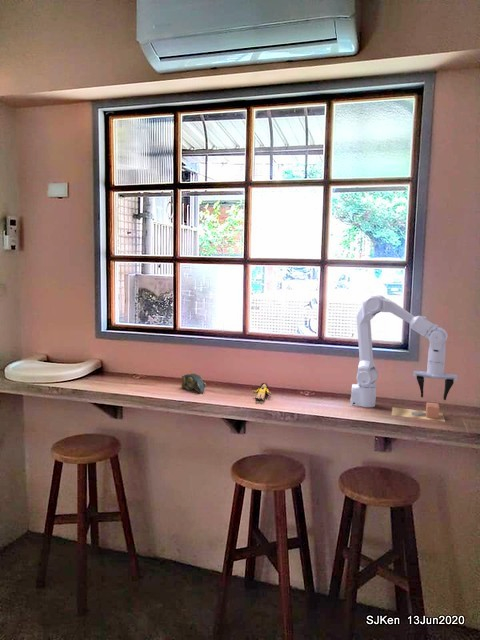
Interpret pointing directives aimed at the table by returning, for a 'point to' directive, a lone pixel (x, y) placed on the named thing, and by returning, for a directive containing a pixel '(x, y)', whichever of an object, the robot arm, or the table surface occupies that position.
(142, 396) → the table surface
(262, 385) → the toy
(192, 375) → the sculpture
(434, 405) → the block
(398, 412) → the board
